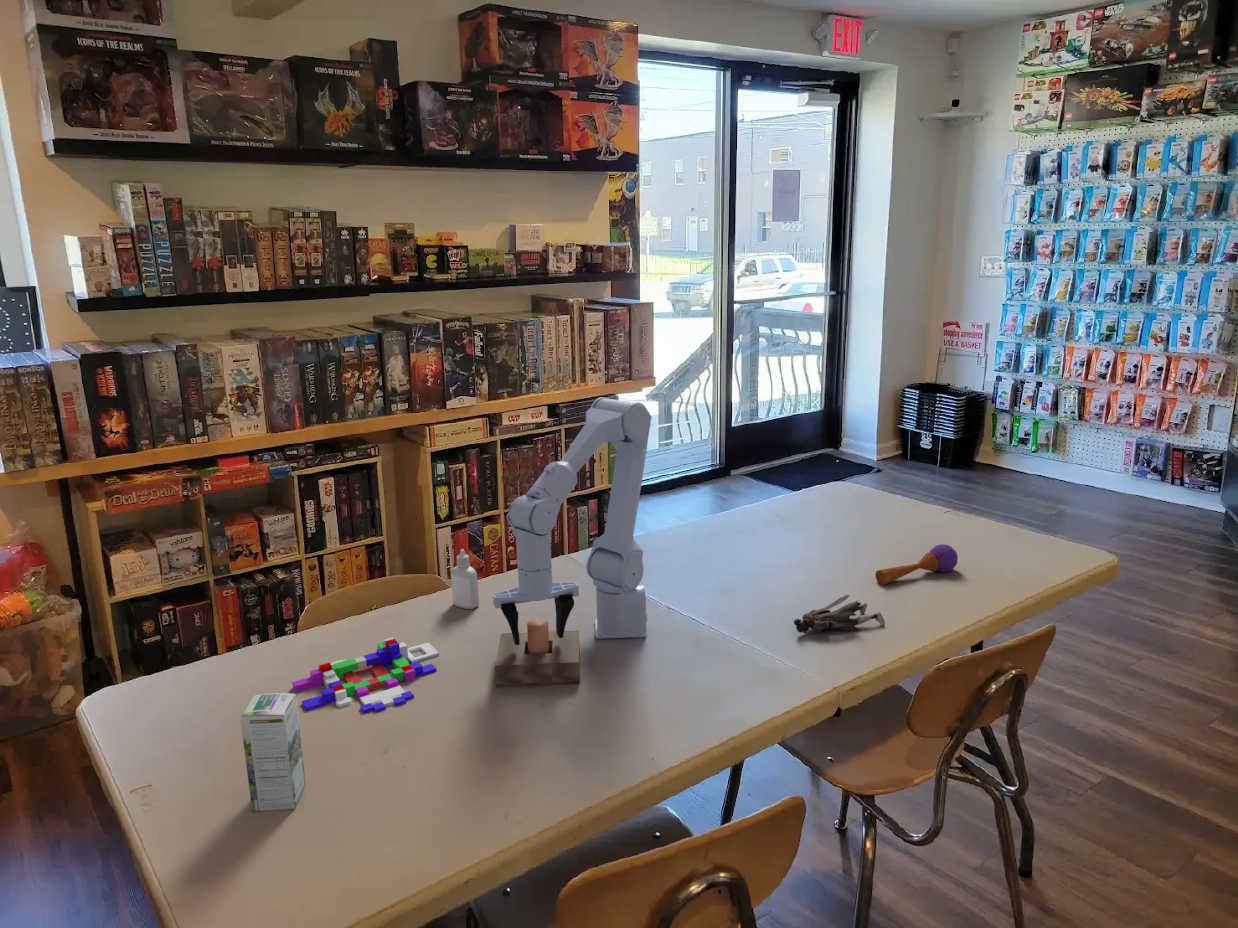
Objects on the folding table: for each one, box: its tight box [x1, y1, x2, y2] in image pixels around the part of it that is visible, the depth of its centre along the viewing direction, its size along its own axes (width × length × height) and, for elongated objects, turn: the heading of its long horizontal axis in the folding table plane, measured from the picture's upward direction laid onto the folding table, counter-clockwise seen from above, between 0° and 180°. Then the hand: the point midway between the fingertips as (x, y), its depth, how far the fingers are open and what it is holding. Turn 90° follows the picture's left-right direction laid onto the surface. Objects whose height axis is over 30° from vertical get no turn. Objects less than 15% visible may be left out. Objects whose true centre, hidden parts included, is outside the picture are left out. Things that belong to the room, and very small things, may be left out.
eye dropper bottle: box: [450, 548, 480, 610], centre depth 182 cm, size 4×6×12 cm
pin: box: [526, 618, 549, 654], centre depth 156 cm, size 4×4×8 cm
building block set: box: [291, 636, 440, 714], centre depth 154 cm, size 25×20×4 cm
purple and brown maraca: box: [875, 543, 958, 586], centre depth 193 cm, size 6×6×20 cm
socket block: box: [494, 630, 581, 688], centre depth 157 cm, size 14×12×4 cm
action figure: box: [793, 594, 886, 634], centre depth 170 cm, size 8×6×18 cm
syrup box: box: [240, 692, 306, 813], centre depth 121 cm, size 6×6×14 cm
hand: (538, 638), depth 156 cm, fingers open, 7 cm apart
